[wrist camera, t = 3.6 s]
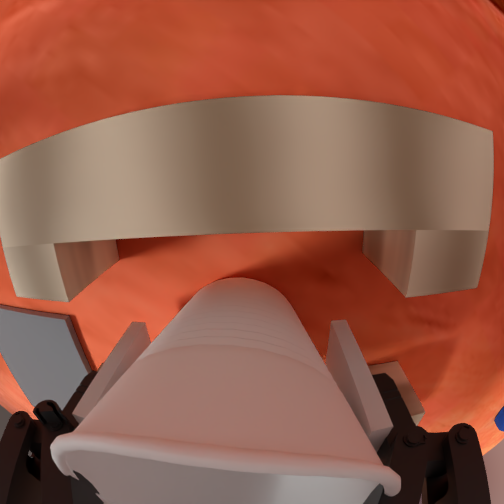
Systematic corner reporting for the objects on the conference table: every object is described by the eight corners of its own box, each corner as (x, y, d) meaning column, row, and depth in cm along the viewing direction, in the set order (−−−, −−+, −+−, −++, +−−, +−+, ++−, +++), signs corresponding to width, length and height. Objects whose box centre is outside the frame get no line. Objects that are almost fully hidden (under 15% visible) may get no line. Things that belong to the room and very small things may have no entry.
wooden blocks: (128, 416, 19) (110, 459, 14) (53, 156, 12) (-9, 163, 7) (375, 416, 18) (391, 462, 13) (429, 134, 11) (492, 131, 6)
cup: (352, 345, 15) (413, 505, 5) (217, 400, 17) (196, 542, 7) (275, 200, 13) (345, 374, 2) (123, 292, 14) (8, 437, 4)
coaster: (34, 402, 20) (32, 405, 20) (-18, 300, 16) (-22, 303, 15) (127, 434, 20) (125, 438, 19) (69, 315, 15) (64, 319, 15)
